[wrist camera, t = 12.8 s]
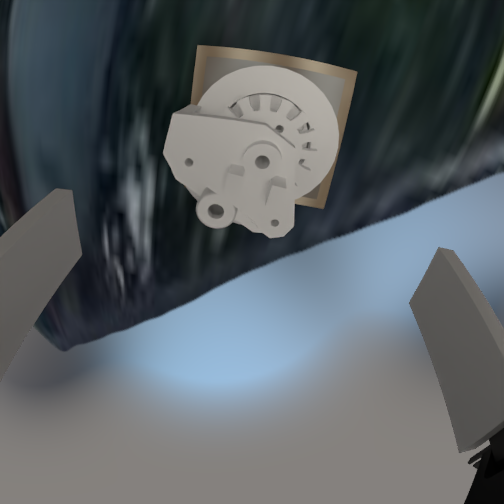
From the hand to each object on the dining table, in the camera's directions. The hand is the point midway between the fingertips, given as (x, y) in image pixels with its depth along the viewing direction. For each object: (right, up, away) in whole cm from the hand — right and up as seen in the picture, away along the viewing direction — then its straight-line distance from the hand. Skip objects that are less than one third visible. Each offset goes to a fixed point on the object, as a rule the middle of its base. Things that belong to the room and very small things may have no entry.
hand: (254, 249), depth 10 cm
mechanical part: (+1, +11, +16) cm, 20 cm away
